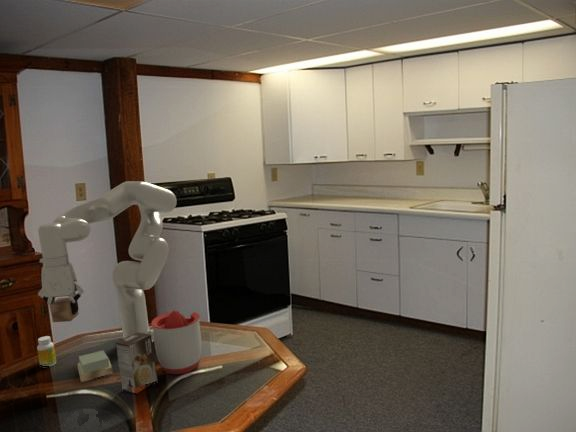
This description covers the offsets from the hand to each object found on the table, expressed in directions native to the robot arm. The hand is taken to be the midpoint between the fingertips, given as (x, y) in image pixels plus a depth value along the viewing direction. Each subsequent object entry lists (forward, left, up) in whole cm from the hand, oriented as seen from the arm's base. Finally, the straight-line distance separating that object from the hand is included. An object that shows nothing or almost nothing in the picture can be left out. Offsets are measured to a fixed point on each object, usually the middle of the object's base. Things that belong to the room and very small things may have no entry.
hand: (65, 313), depth 179 cm
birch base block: (-6, +3, -22) cm, 23 cm away
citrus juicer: (-33, +16, -21) cm, 42 cm away
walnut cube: (0, 0, -2) cm, 2 cm away
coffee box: (-17, +23, -21) cm, 36 cm away
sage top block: (-6, +4, -19) cm, 20 cm away
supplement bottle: (+8, -13, -21) cm, 26 cm away
